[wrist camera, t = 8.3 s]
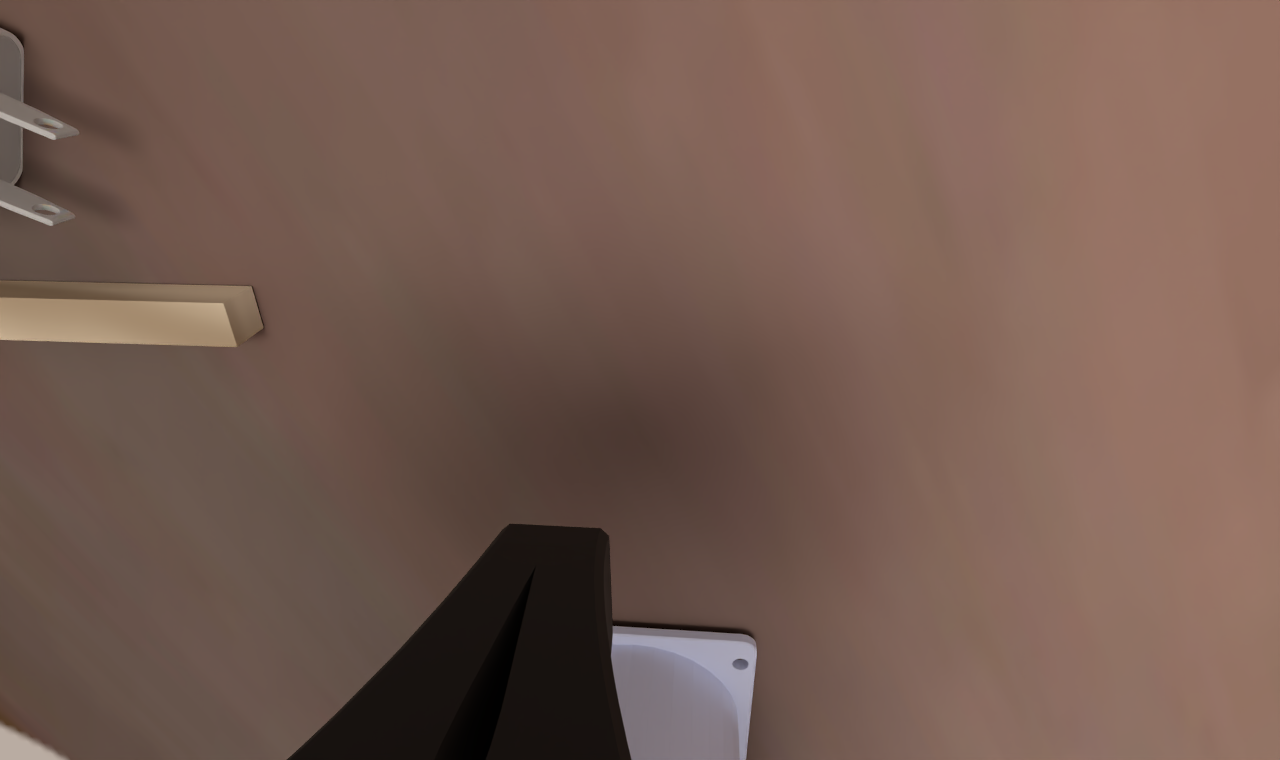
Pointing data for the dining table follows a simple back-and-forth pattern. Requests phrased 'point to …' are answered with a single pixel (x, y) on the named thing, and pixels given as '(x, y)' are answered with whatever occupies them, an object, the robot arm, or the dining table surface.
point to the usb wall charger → (3, 135)
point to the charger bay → (128, 313)
